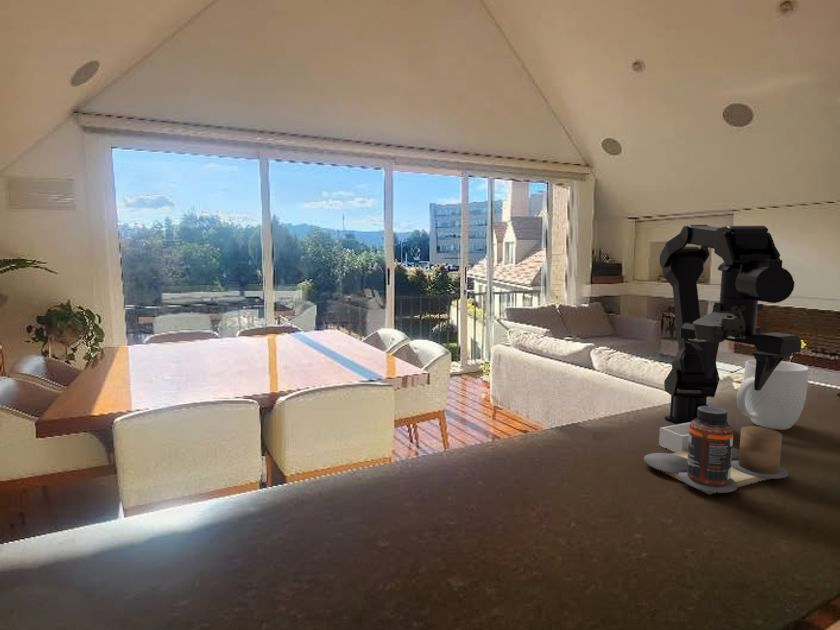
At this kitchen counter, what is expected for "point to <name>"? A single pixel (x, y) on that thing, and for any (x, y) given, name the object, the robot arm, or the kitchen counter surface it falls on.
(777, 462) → the board
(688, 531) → the kitchen counter surface
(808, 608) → the kitchen counter surface
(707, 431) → the supplement bottle
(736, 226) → the robot arm
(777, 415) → the mug
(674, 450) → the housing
